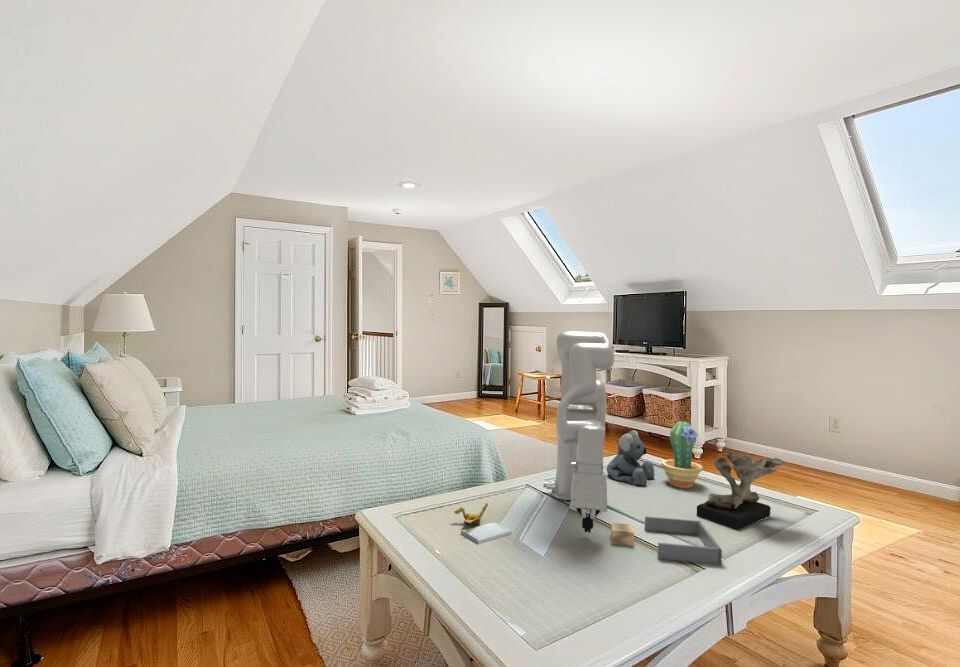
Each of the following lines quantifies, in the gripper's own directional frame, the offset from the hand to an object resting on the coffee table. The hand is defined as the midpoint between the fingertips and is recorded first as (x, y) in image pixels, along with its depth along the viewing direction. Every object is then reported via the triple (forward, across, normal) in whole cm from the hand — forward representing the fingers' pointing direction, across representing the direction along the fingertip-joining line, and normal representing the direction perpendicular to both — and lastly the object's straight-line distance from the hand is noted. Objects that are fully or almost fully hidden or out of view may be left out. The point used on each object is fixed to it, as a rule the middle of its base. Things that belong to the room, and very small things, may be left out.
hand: (587, 530), depth 148 cm
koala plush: (+2, +21, +64) cm, 68 cm away
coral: (+2, +53, +27) cm, 60 cm away
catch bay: (+2, +26, 0) cm, 26 cm away
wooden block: (+2, +10, 0) cm, 10 cm away
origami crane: (+2, -34, +2) cm, 34 cm away
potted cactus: (+2, +41, +61) cm, 74 cm away
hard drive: (+3, -29, -4) cm, 29 cm away
